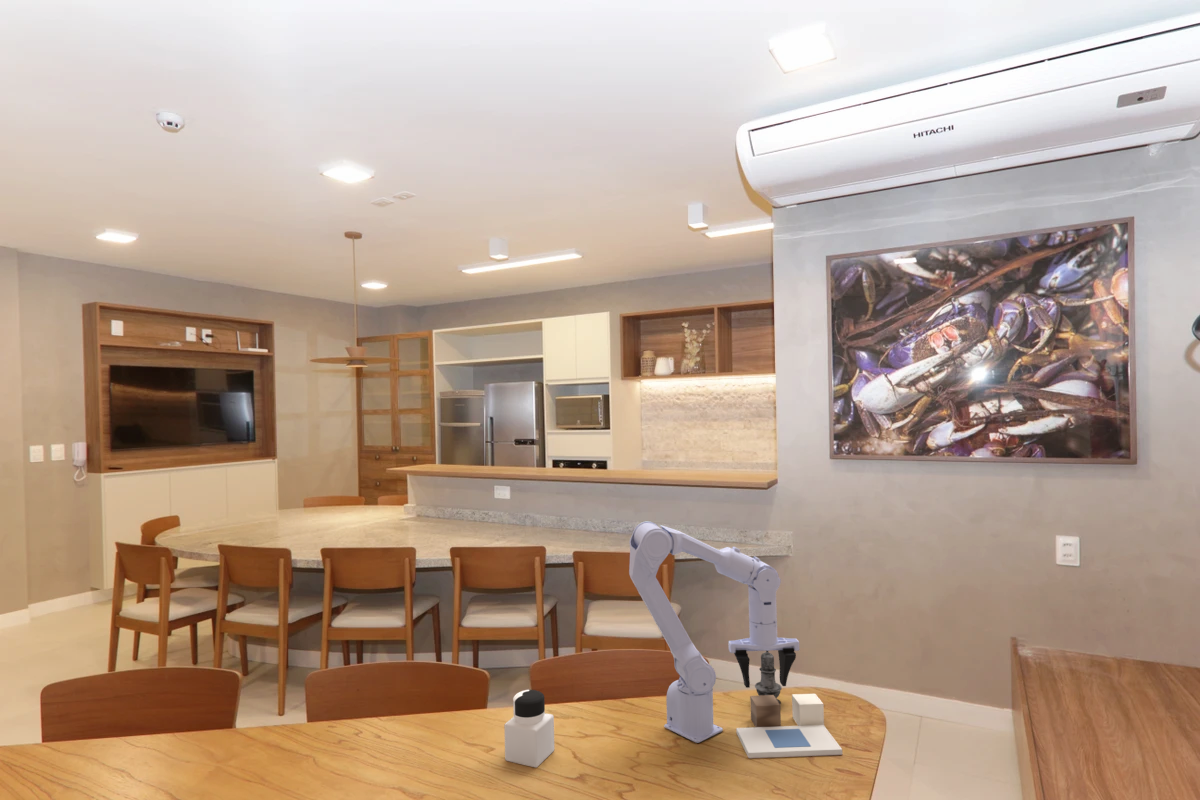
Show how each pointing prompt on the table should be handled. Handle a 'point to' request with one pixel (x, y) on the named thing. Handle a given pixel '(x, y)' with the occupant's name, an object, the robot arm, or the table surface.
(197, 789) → the table surface
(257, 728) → the table surface
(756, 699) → the walnut block
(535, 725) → the medicine bottle
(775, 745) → the board
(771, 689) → the grey tall round piece
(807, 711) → the cream block
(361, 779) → the table surface
